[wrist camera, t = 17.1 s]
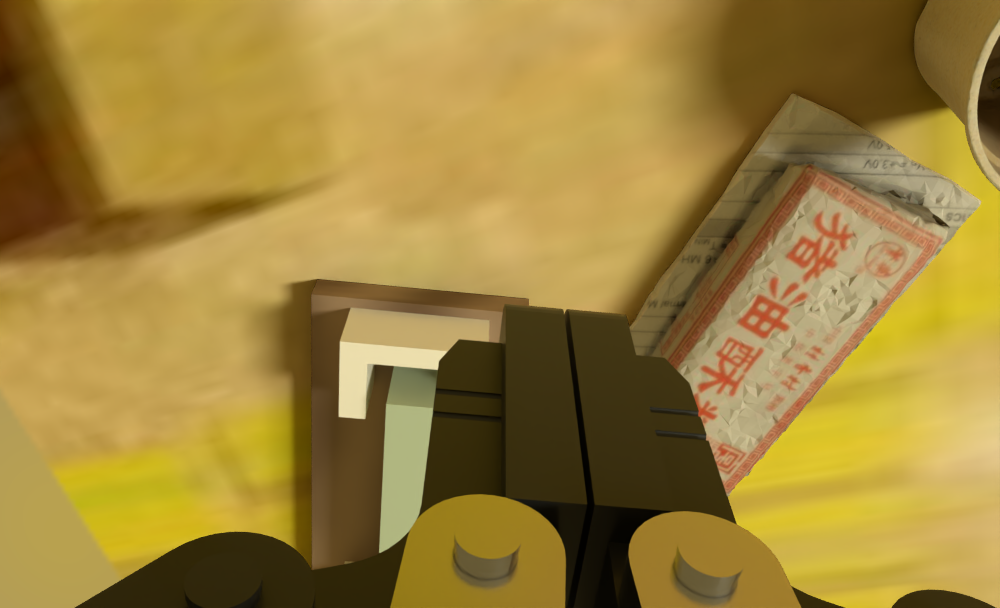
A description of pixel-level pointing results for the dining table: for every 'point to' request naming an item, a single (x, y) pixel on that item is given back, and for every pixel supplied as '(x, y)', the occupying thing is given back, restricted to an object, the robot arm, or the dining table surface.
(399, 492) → the slat
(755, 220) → the packaged product
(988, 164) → the flower pot
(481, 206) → the dining table surface
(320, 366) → the board
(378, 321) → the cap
